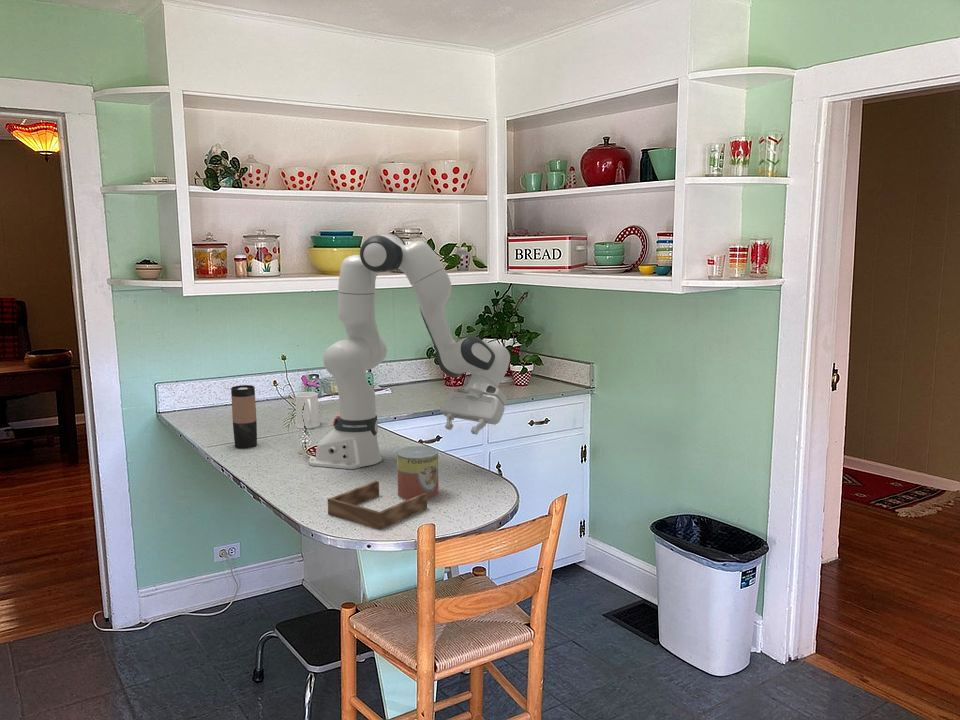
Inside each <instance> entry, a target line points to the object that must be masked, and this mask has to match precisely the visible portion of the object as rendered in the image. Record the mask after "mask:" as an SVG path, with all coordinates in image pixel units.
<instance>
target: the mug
mask: <svg viewBox="0 0 960 720" xmlns="http://www.w3.org/2000/svg"><path fill="white" fill-rule="evenodd" d="M318 395H319V393H318V392H317V391H316V392H314V391H302V392H298V393H295V395H294V397H295V418H296V419H295V420H296V423H295V428H297V429H301V430H302V429H303V430H305V429H304V422H305V426H306V428H307V429H306V430H308V429H309V430H310V429H315V428H318V427H320V426H321V424H320V420H319V419H320V418H319V417H320V415H319V414H320V413H319V396H318ZM304 403H305V406H304ZM303 406H304V410H303V418H302V408H303ZM303 419H304V422H303Z"/></svg>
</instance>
